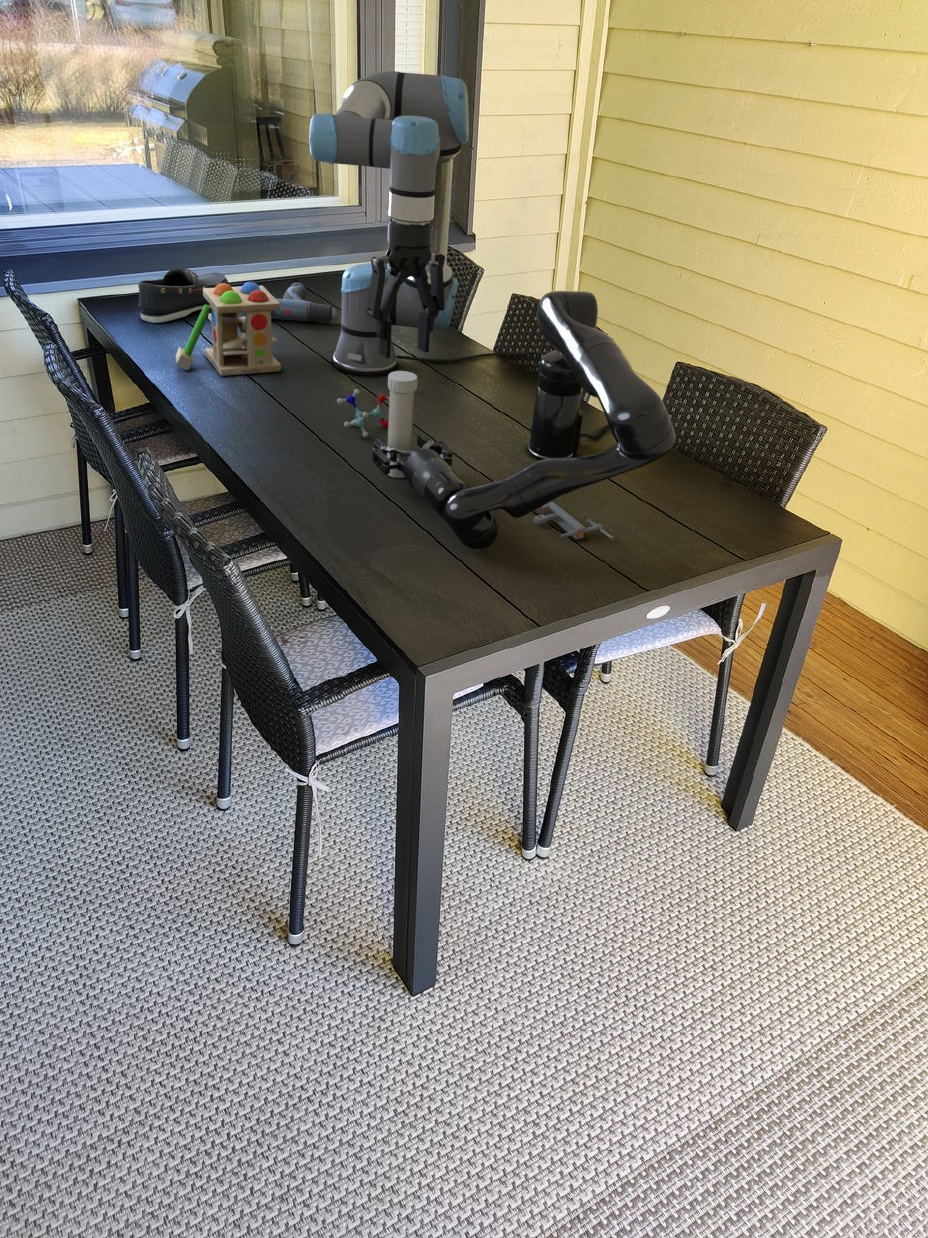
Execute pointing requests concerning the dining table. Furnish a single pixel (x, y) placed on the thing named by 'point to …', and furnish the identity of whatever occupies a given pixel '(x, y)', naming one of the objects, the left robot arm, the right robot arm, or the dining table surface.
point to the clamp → (566, 521)
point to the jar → (400, 424)
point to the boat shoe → (175, 294)
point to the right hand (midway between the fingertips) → (398, 440)
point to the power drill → (301, 307)
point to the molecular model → (360, 415)
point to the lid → (402, 382)
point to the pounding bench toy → (229, 347)
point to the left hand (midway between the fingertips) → (403, 352)
